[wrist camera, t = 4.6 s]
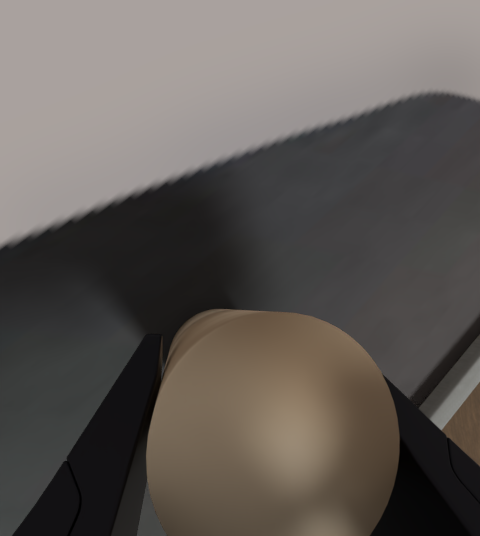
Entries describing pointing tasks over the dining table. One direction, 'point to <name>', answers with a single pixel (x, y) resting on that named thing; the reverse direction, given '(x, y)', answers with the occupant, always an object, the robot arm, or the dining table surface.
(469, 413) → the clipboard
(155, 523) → the dining table surface
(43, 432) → the dining table surface
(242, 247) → the dining table surface
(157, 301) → the dining table surface
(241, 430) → the tan wooden cylinder
